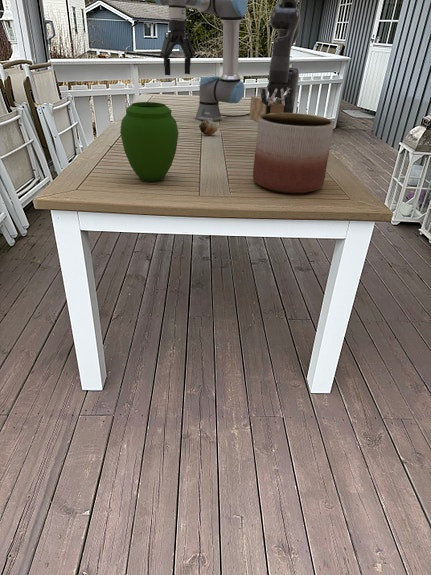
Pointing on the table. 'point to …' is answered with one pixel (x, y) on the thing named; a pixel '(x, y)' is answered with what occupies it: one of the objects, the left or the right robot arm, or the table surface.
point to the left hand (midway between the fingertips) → (177, 74)
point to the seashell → (208, 127)
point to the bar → (263, 108)
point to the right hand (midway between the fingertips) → (274, 115)
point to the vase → (149, 139)
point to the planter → (292, 152)
